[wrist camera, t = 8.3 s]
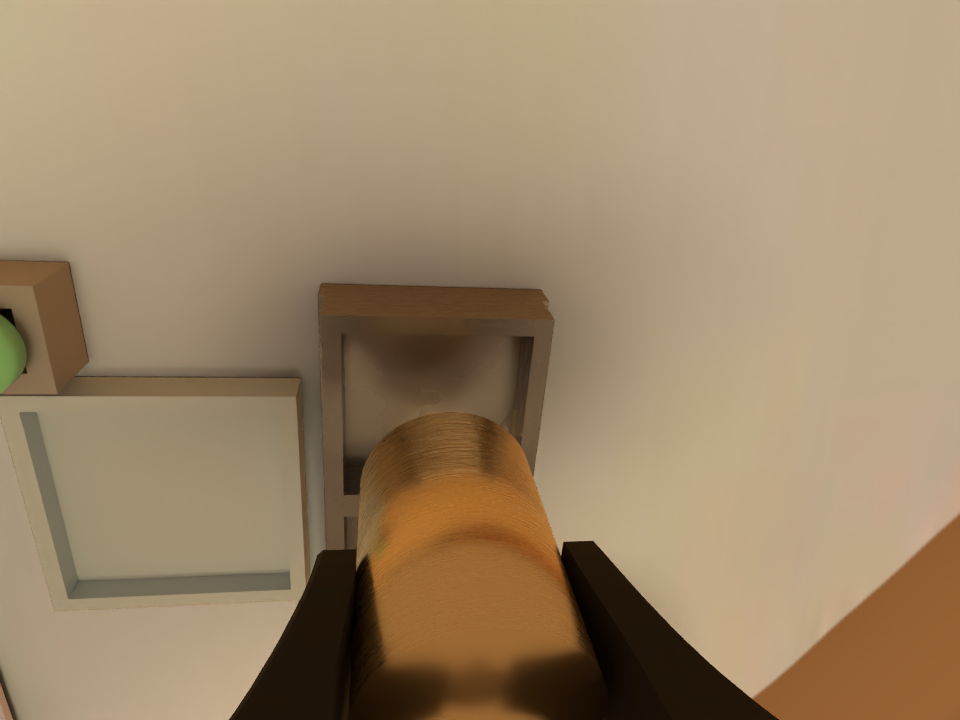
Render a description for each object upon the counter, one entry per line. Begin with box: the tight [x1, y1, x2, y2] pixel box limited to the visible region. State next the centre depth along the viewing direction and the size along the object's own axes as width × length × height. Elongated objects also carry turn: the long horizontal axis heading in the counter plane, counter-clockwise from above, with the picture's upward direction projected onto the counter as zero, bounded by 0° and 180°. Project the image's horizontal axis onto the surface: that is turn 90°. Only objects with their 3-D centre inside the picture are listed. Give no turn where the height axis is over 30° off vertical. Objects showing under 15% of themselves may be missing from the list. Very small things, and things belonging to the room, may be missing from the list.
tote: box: [0, 377, 310, 611], centre depth 20 cm, size 8×8×1 cm
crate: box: [318, 284, 554, 559], centre depth 21 cm, size 7×12×2 cm, turn 176°
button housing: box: [0, 260, 88, 394], centre depth 17 cm, size 3×3×2 cm
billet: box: [348, 412, 608, 720], centre depth 12 cm, size 4×4×6 cm
